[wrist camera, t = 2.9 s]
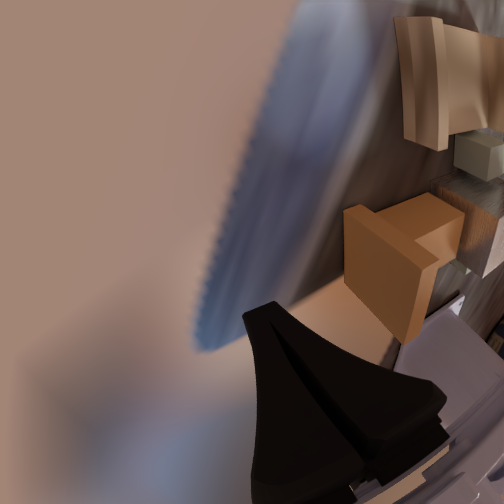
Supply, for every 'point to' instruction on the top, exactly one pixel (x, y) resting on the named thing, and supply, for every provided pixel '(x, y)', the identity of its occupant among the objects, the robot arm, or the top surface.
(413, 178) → the top surface
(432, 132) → the tan flat bracket
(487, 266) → the grey block
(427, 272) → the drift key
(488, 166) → the socket
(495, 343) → the canister
